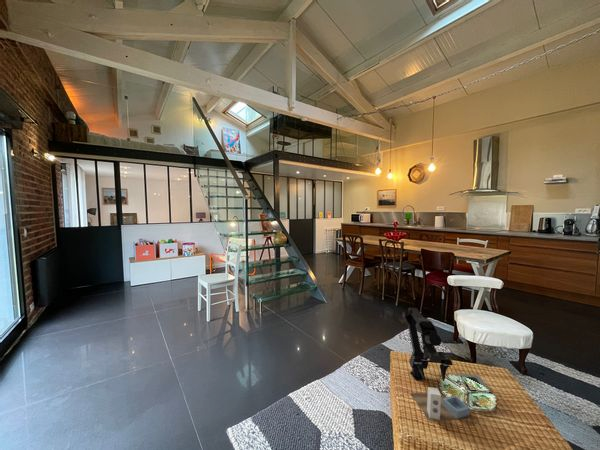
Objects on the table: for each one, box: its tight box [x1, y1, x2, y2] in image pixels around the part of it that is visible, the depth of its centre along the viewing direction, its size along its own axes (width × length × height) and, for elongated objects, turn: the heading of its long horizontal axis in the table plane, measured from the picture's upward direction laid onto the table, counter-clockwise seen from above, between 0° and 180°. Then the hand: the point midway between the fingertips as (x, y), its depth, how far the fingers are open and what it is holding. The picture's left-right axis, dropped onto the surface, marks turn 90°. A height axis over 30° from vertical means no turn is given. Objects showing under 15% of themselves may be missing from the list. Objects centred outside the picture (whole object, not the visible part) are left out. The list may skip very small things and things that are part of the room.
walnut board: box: [409, 390, 474, 423], centre depth 120 cm, size 17×22×1 cm
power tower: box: [427, 386, 441, 420], centre depth 114 cm, size 5×4×12 cm
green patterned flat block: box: [458, 372, 490, 390], centre depth 135 cm, size 13×10×2 cm
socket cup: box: [443, 394, 471, 419], centre depth 117 cm, size 8×8×4 cm
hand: (433, 380), depth 120 cm, fingers open, 9 cm apart
